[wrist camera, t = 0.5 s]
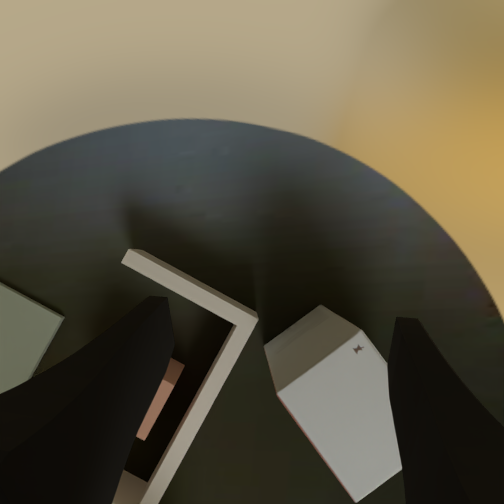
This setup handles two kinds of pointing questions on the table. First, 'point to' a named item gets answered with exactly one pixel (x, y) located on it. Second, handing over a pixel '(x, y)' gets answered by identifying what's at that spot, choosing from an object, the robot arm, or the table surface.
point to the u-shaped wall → (244, 319)
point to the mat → (23, 336)
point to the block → (160, 397)
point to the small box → (338, 397)
